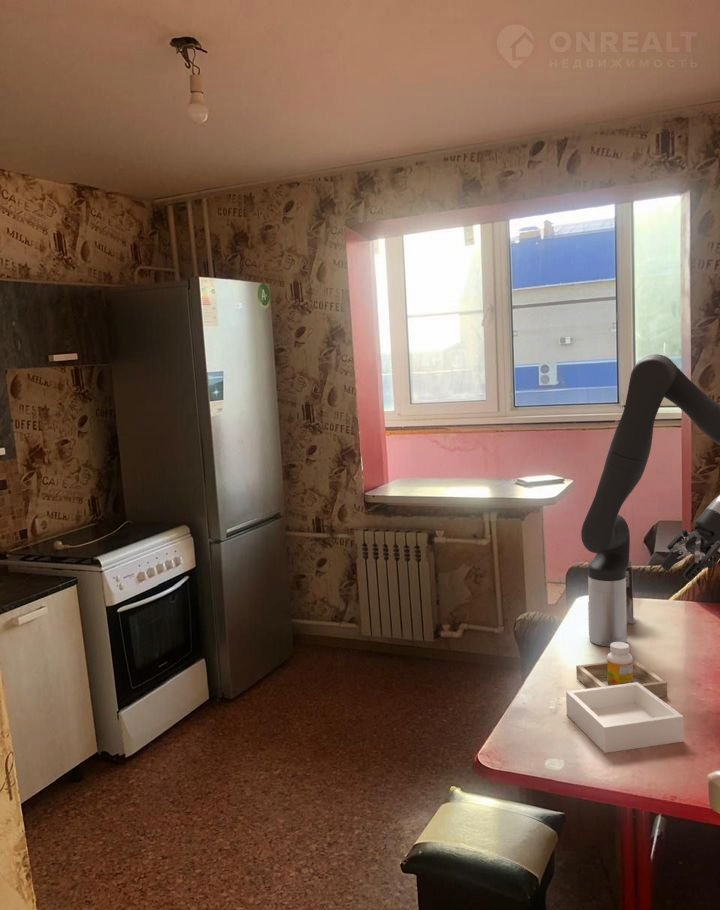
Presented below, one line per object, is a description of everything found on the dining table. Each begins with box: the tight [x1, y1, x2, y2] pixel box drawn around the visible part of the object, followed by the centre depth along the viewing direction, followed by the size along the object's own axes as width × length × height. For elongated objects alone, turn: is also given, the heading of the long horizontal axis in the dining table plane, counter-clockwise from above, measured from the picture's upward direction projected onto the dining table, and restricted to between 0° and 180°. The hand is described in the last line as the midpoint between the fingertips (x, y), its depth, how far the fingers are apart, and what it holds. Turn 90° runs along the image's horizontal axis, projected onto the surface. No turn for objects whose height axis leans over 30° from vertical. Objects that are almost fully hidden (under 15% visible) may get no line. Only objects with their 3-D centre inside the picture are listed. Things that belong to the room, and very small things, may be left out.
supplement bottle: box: [606, 642, 634, 686], centre depth 163 cm, size 5×5×10 cm
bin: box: [565, 681, 684, 754], centre depth 145 cm, size 16×16×5 cm
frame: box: [575, 658, 668, 698], centre depth 164 cm, size 14×14×3 cm
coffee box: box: [626, 561, 635, 624], centre depth 206 cm, size 9×6×16 cm
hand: (674, 573), depth 163 cm, fingers open, 8 cm apart
